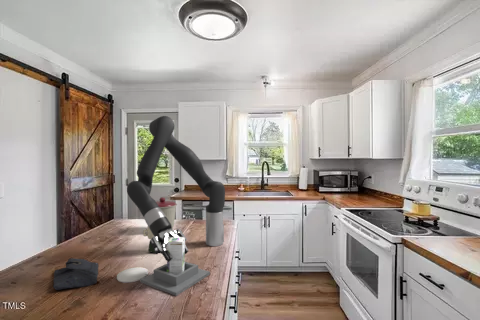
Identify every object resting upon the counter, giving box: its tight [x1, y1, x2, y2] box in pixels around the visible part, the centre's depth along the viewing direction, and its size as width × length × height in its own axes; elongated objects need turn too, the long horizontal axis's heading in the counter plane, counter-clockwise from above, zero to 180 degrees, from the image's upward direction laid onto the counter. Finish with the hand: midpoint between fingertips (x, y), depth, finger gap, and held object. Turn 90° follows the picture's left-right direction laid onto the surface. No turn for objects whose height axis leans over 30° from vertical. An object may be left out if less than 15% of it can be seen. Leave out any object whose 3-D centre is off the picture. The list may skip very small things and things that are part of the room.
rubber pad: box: [116, 266, 149, 284], centre depth 96 cm, size 11×11×1 cm
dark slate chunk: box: [52, 257, 99, 291], centre depth 95 cm, size 15×22×5 cm
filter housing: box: [139, 261, 211, 297], centre depth 94 cm, size 18×18×4 cm
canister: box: [156, 196, 178, 229], centre depth 158 cm, size 18×18×21 cm
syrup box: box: [166, 237, 186, 275], centre depth 94 cm, size 6×6×14 cm
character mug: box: [142, 226, 160, 254], centre depth 122 cm, size 11×7×13 cm, turn 113°
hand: (178, 256), depth 93 cm, fingers closed on syrup box, 8 cm apart
